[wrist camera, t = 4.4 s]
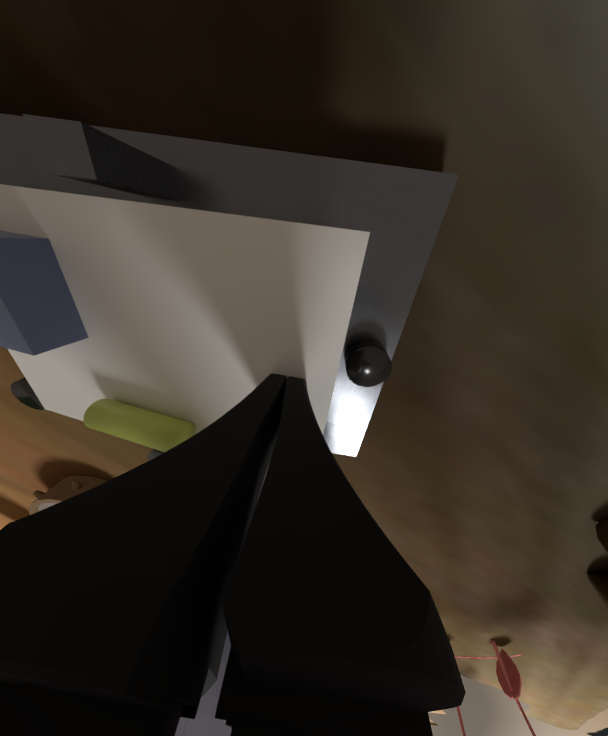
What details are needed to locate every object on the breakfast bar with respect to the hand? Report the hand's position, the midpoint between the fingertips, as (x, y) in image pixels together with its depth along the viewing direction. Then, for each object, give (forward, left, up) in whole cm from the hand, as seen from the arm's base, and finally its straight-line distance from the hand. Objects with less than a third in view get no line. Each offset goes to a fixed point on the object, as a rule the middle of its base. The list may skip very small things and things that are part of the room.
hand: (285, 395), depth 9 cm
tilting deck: (0, +7, -2) cm, 7 cm away
